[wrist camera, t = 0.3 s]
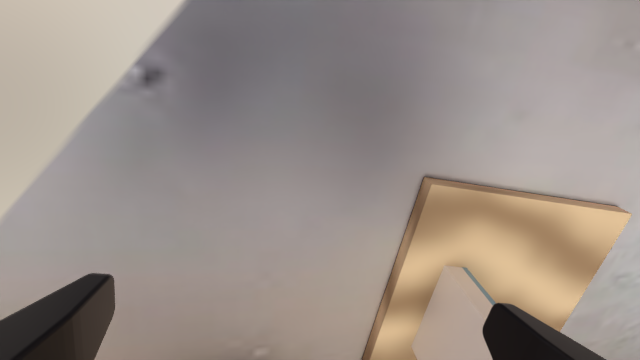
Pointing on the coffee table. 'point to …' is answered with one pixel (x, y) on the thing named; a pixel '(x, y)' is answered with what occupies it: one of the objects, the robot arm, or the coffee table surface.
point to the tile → (454, 319)
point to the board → (493, 255)
